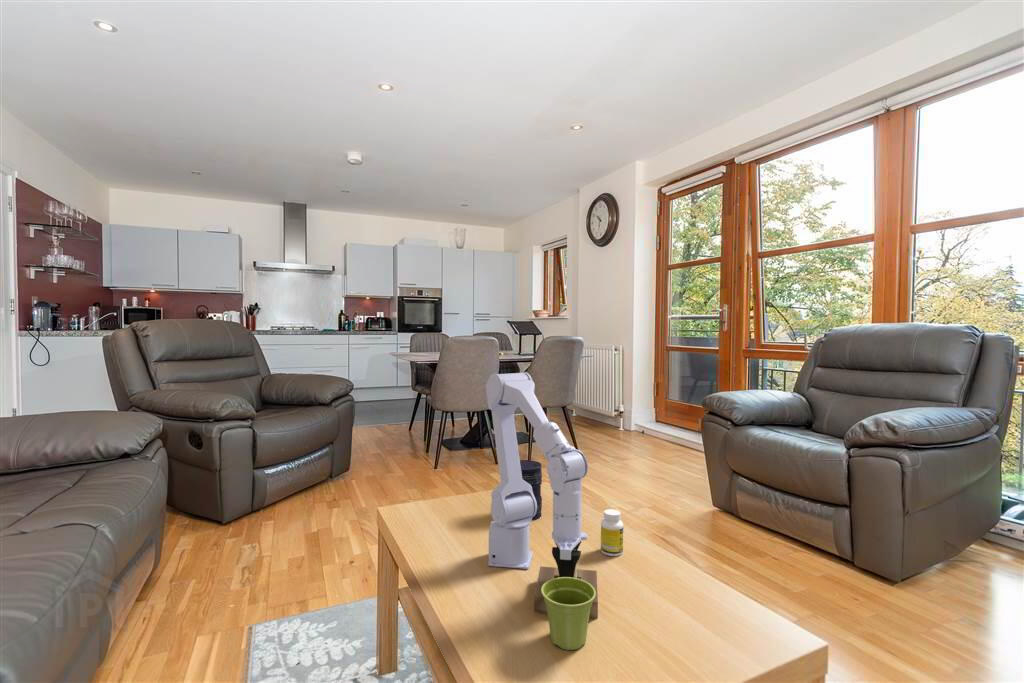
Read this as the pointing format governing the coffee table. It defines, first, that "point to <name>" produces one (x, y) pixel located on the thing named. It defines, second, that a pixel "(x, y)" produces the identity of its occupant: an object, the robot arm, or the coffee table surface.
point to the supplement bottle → (612, 533)
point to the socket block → (553, 572)
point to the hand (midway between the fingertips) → (567, 578)
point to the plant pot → (568, 610)
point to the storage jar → (533, 481)
